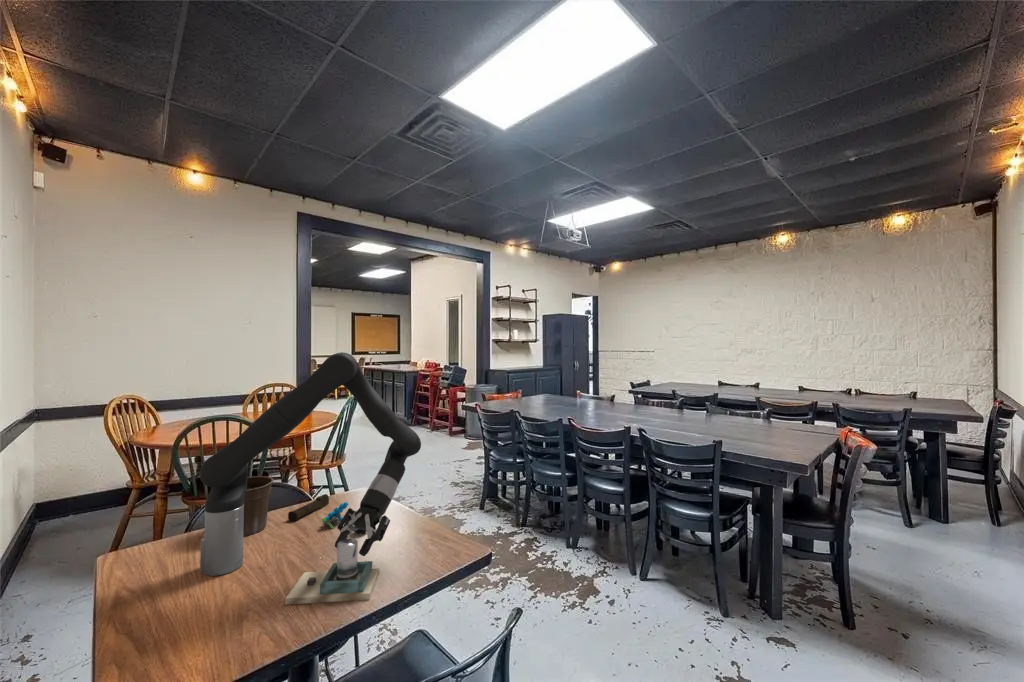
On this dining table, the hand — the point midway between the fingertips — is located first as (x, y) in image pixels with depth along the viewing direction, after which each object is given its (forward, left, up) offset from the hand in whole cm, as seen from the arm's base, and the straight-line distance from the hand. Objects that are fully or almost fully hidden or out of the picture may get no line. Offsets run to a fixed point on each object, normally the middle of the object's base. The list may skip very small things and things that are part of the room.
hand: (349, 551), depth 110 cm
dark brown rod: (-29, +54, -10) cm, 62 cm away
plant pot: (-45, +40, -9) cm, 61 cm away
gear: (-16, +42, -9) cm, 46 cm away
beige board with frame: (-3, 0, -9) cm, 10 cm away
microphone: (-4, +40, -10) cm, 41 cm away
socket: (0, 0, -8) cm, 8 cm away
